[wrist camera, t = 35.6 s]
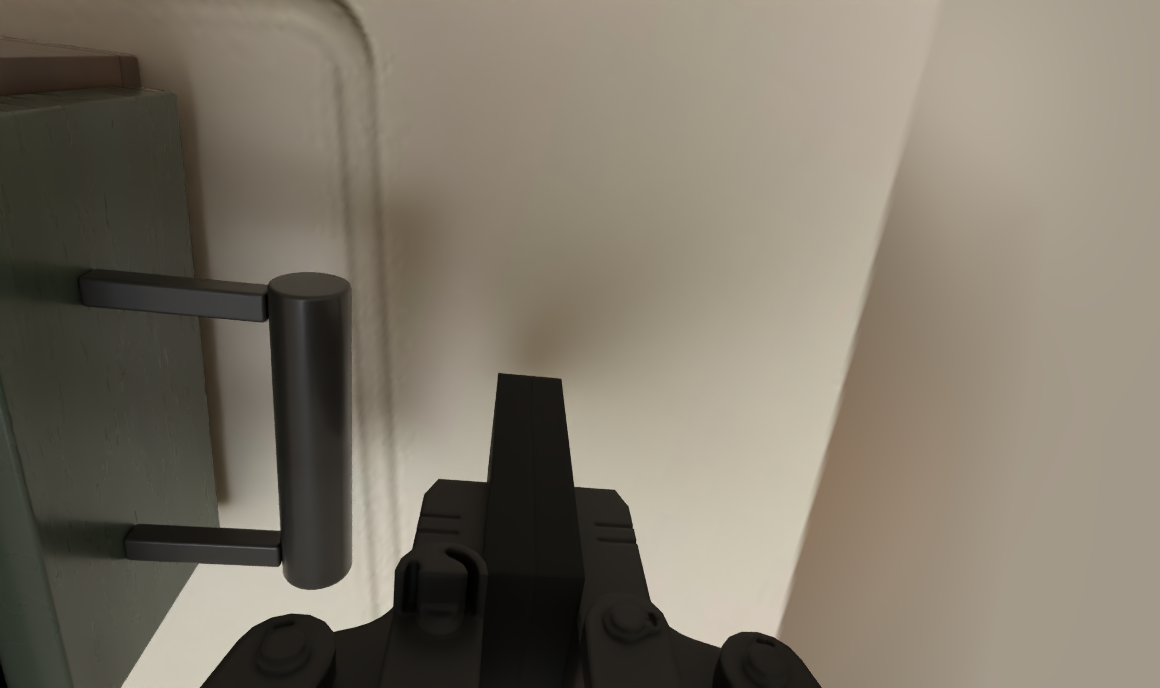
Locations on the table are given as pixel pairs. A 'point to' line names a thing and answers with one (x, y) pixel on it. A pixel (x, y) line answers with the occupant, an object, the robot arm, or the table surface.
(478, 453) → the table surface
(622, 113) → the table surface
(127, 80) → the cabinet
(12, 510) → the drawer
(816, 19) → the table surface
